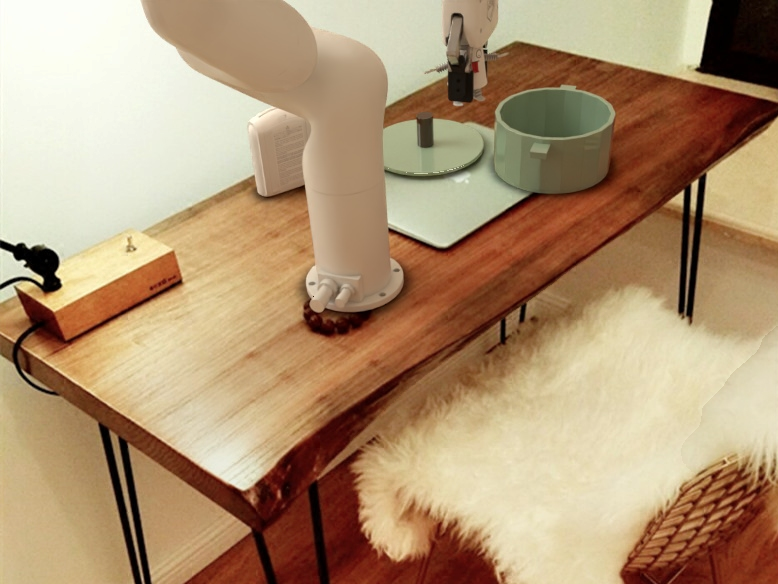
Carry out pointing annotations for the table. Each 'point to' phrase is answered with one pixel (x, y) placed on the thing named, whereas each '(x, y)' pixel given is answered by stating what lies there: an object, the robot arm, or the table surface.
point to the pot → (553, 139)
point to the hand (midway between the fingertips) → (467, 88)
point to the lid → (430, 146)
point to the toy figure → (477, 66)
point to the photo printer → (277, 150)
